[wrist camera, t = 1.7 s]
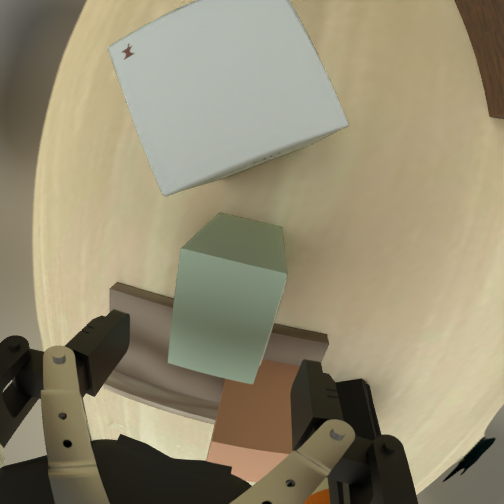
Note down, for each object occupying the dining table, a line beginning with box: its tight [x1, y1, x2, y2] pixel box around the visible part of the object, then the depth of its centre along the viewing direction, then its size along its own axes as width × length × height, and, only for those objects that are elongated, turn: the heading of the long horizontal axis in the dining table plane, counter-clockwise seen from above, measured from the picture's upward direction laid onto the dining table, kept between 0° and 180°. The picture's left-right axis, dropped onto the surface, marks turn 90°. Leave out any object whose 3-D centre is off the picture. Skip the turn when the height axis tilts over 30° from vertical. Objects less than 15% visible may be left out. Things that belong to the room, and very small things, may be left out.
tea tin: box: [168, 213, 287, 384], centre depth 19 cm, size 5×7×10 cm
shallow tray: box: [103, 282, 329, 425], centre depth 25 cm, size 11×20×4 cm, turn 77°
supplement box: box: [108, 0, 349, 196], centre depth 14 cm, size 7×7×13 cm
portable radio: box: [328, 379, 381, 504], centre depth 16 cm, size 8×6×25 cm
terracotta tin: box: [206, 359, 300, 482], centre depth 21 cm, size 5×7×10 cm
